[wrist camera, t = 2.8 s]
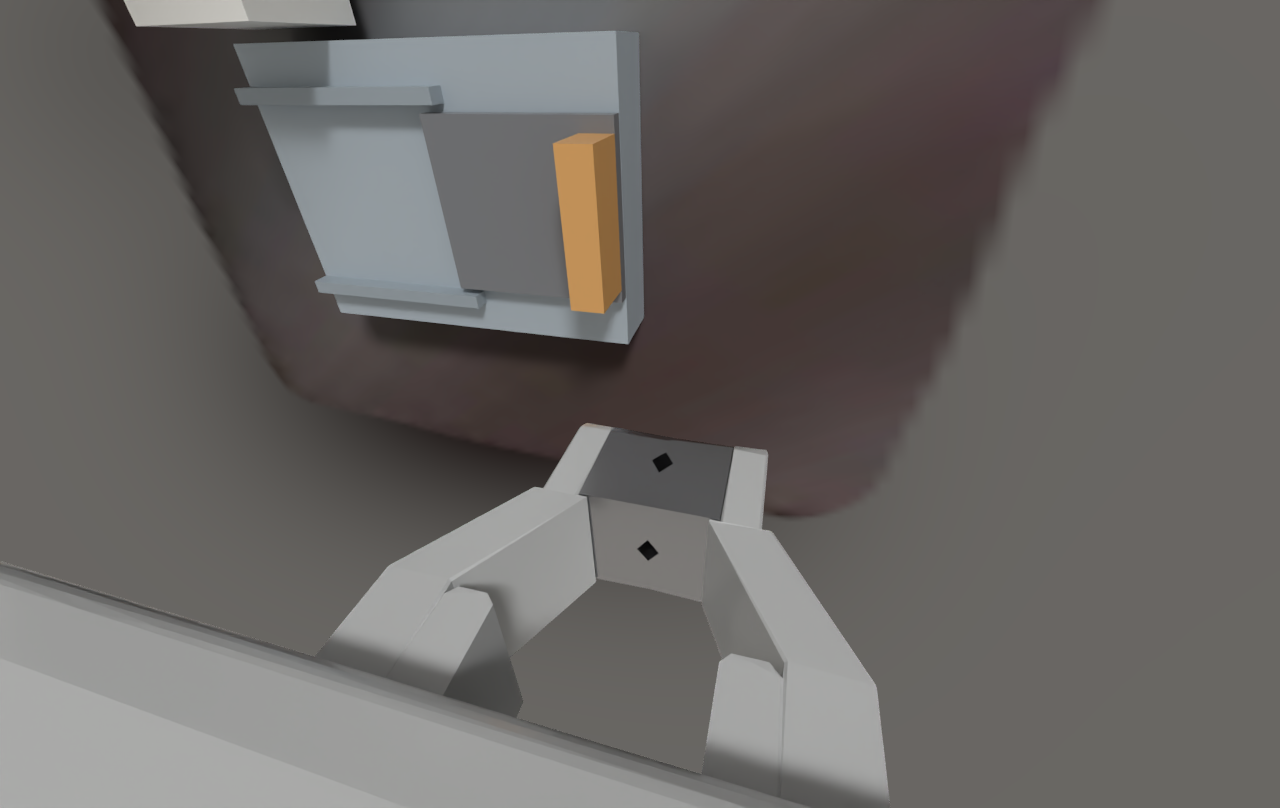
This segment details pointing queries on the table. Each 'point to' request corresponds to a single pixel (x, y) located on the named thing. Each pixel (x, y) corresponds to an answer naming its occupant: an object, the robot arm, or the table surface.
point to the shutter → (532, 202)
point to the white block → (241, 13)
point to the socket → (401, 169)
